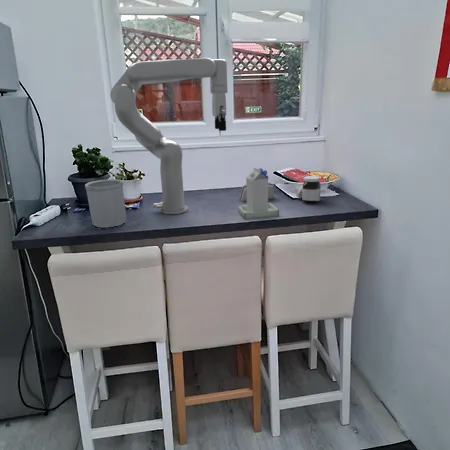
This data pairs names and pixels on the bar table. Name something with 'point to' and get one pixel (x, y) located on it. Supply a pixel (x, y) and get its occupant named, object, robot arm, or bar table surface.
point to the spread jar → (310, 190)
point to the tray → (249, 215)
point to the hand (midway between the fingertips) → (220, 129)
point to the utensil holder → (106, 202)
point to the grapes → (264, 172)
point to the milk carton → (257, 191)
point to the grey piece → (244, 192)
